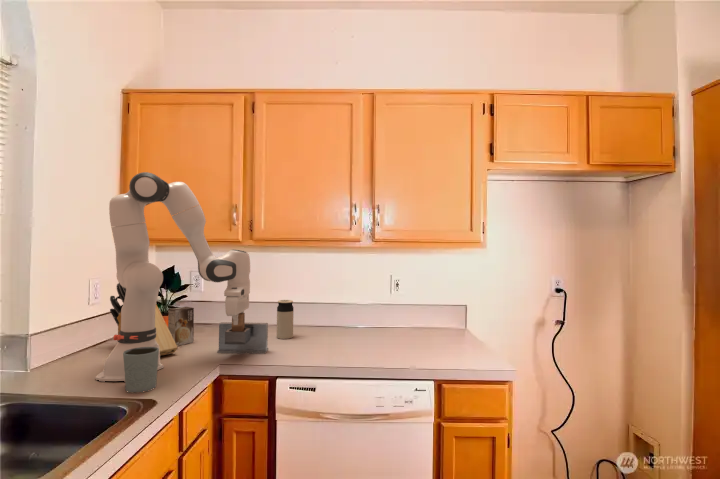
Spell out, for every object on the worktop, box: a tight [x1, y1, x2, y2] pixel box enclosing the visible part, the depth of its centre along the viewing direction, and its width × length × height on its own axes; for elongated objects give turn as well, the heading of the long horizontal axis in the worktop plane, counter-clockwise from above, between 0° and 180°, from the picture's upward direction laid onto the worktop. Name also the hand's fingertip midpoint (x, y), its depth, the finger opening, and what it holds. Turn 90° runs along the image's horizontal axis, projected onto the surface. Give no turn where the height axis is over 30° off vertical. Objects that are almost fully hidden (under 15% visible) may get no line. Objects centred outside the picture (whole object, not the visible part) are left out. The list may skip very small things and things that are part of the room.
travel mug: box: [276, 299, 294, 340], centre depth 198 cm, size 8×8×18 cm
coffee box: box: [167, 306, 195, 347], centre depth 184 cm, size 9×6×16 cm
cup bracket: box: [216, 321, 269, 355], centre depth 168 cm, size 15×20×12 cm
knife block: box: [109, 282, 179, 357], centre depth 170 cm, size 11×35×31 cm, turn 58°
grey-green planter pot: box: [123, 347, 159, 393], centre depth 128 cm, size 10×10×12 cm
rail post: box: [231, 312, 246, 331], centre depth 164 cm, size 4×4×9 cm
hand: (238, 323), depth 164 cm, fingers closed on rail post, 4 cm apart
